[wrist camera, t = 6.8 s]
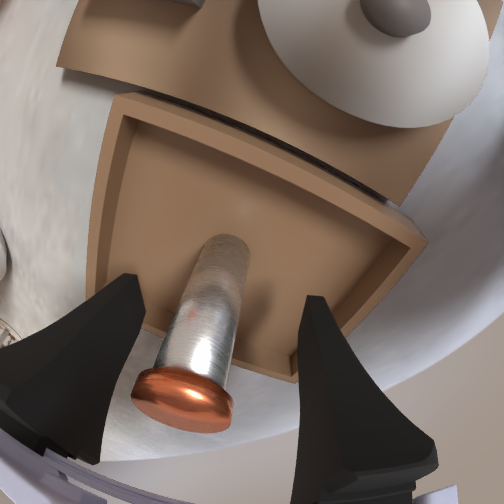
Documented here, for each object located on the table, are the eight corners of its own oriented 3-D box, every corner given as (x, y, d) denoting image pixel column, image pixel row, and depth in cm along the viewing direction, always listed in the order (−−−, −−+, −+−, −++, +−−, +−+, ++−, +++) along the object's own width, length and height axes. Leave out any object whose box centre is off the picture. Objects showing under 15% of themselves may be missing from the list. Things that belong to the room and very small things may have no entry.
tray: (411, 220, 12) (428, 243, 10) (295, 358, 18) (295, 383, 16) (139, 91, 10) (114, 94, 8) (101, 279, 16) (85, 301, 14)
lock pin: (257, 228, 12) (226, 397, 6) (257, 280, 14) (233, 438, 7) (194, 226, 13) (116, 377, 6) (200, 276, 14) (147, 422, 8)
